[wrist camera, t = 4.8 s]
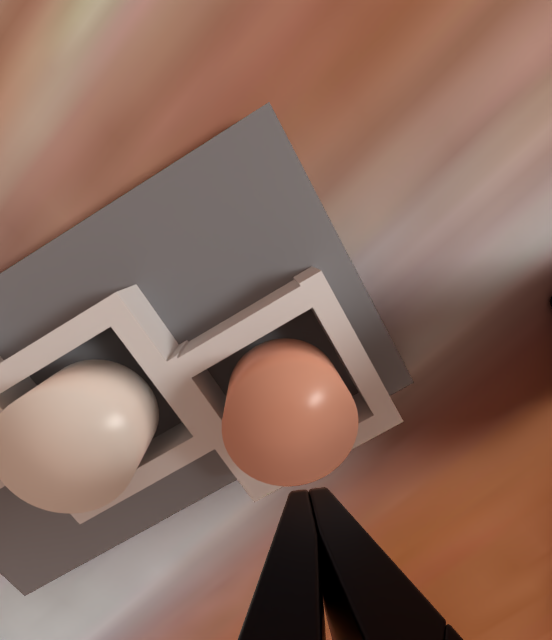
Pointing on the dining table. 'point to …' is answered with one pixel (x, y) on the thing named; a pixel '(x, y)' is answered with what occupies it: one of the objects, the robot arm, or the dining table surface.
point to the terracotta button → (288, 414)
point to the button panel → (186, 327)
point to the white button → (77, 436)
